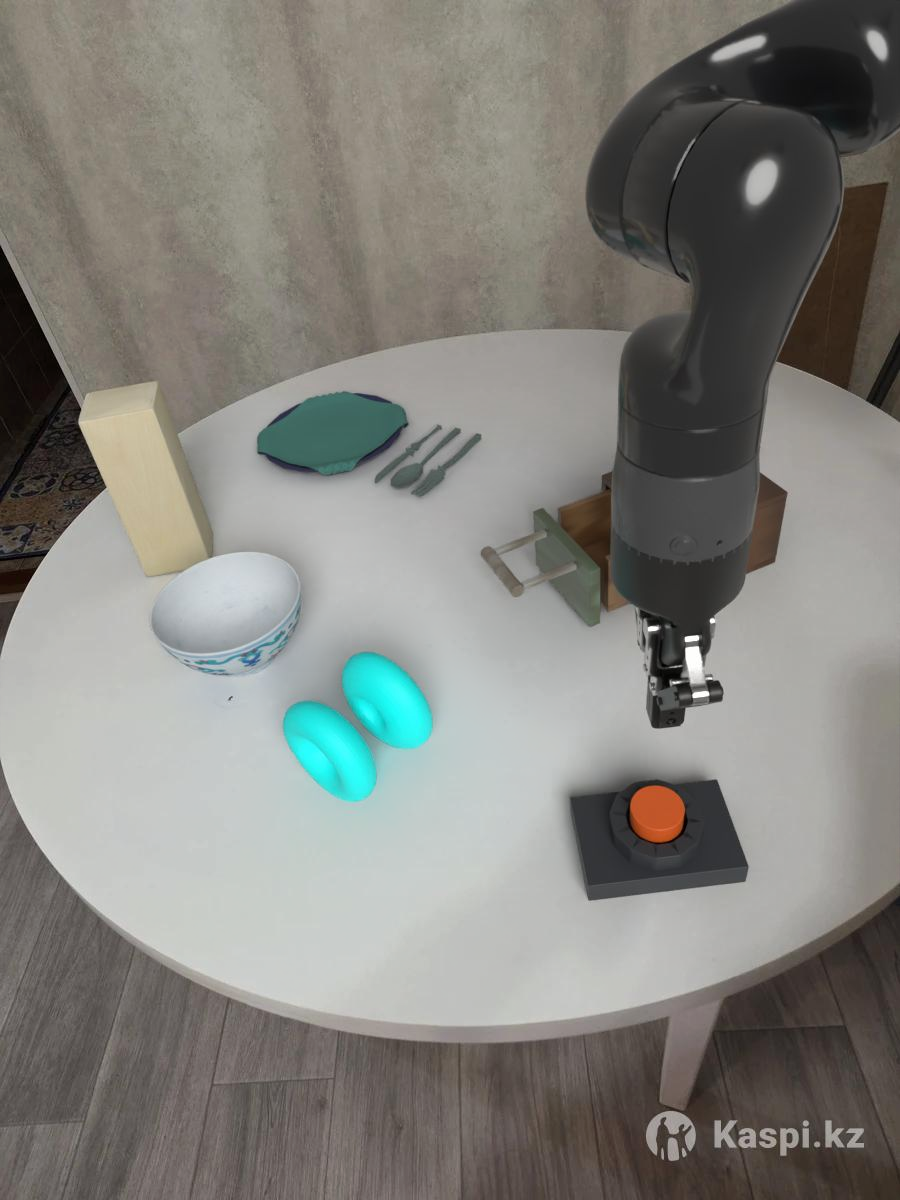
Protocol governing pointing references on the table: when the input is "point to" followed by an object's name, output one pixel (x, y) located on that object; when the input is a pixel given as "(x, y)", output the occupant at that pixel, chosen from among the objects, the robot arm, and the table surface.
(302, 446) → the cutlery set
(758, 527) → the cabinet
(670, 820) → the button
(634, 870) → the control block
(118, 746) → the table surface
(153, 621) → the chinaware
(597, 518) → the drawer
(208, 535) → the tall cream wooden block
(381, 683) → the donuts
